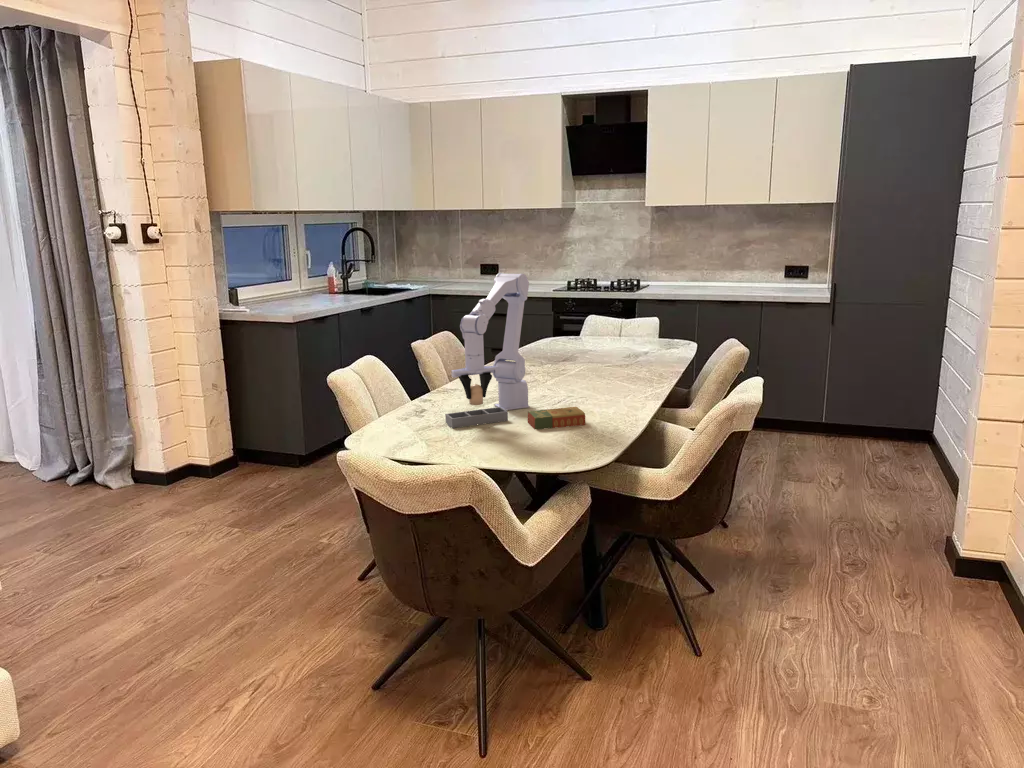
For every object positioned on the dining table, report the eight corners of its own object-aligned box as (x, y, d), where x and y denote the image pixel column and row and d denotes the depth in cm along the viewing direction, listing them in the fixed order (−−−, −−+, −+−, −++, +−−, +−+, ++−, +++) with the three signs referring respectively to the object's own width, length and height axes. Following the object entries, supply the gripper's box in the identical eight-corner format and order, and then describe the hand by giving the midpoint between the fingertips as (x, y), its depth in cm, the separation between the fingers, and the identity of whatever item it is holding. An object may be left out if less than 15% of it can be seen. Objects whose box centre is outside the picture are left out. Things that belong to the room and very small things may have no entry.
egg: (480, 401, 233) (479, 382, 232) (485, 404, 229) (484, 384, 228) (467, 402, 231) (466, 383, 230) (472, 405, 228) (471, 386, 226)
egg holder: (500, 415, 238) (500, 406, 237) (507, 420, 232) (507, 411, 232) (445, 423, 231) (445, 413, 231) (452, 428, 226) (451, 418, 225)
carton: (585, 426, 226) (585, 412, 225) (534, 431, 222) (534, 417, 221) (576, 418, 234) (576, 405, 233) (527, 423, 230) (527, 410, 229)
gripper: (456, 358, 221) (457, 403, 224) (501, 354, 226) (502, 397, 229) (448, 354, 227) (450, 398, 230) (493, 350, 232) (494, 392, 235)
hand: (476, 397), depth 230 cm, fingers closed on egg, 4 cm apart
